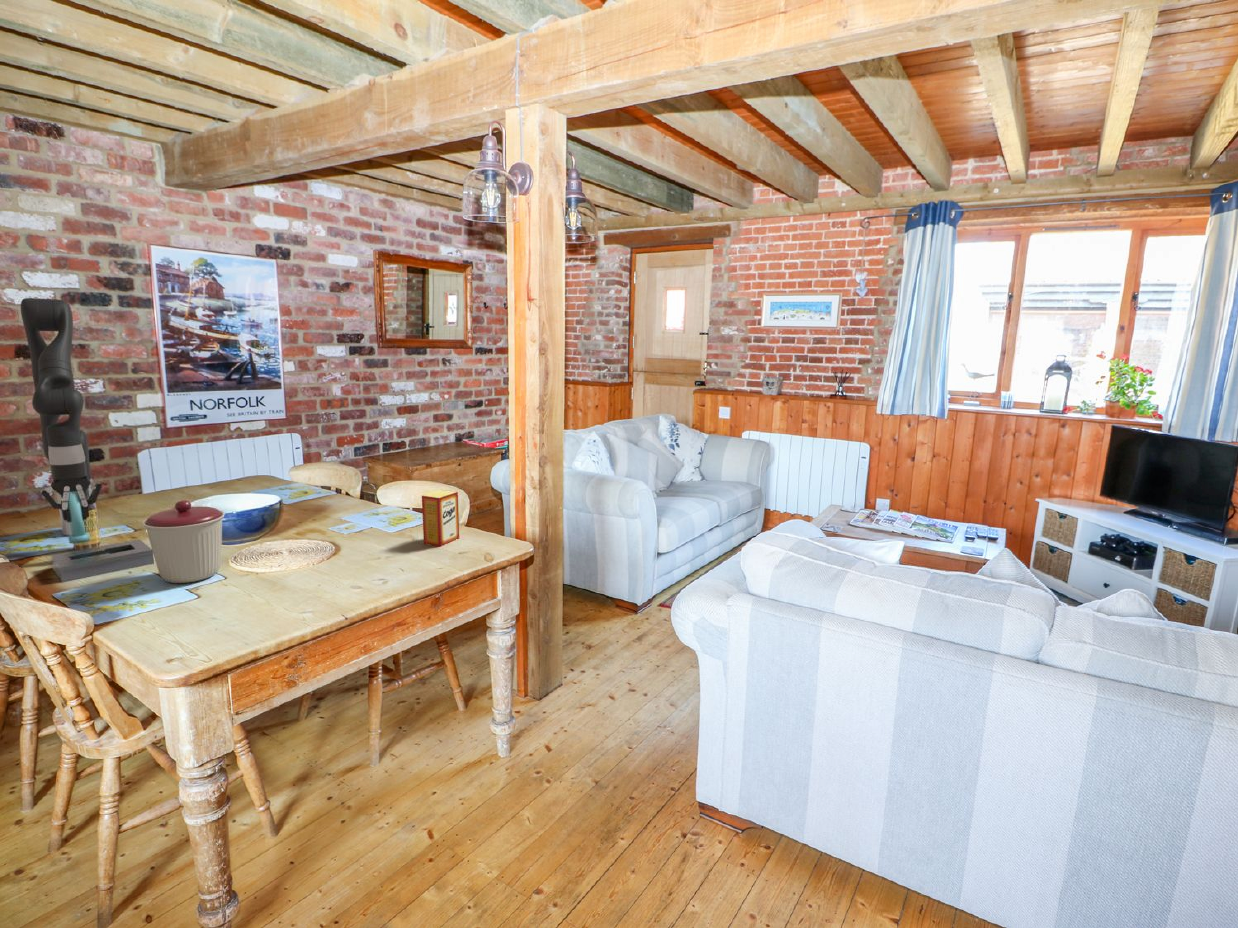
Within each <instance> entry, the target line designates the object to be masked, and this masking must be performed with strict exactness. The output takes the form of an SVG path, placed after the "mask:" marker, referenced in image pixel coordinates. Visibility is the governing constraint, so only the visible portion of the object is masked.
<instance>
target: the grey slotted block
mask: <svg viewBox="0 0 1238 928" xmlns="http://www.w3.org/2000/svg"><path fill="white" fill-rule="evenodd" d="M50 557H51V558H50V559H51V565H52V570H53V571H54V572H55V574H56V575H57V576H58V578H59V580H60V581H61V582H62V583H67V582H70V581H76V580H80V579H86V578H90V577H95V576H100V575H104V574H108V573H113V572H114V573H115V572H119V571H123V570H128V569H133V568H137V567H143V566H148V565H154V564H155V558H154V555H153V551H152V547H151V546H150V547H149V546H148V545H147V544H146V543H145V542H144V541H142V540H141V539H139V538H138V539H133V540H127V541H122V542H116V543H112V544H111V543H110V544H105V545H99V547H93V548H88V549H82V550H73V551H71V550H70V551H67V552H60V553H56V554H55V553H54V554H51V555H50Z"/></svg>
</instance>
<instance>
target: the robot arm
mask: <svg viewBox="0 0 1238 928" xmlns="http://www.w3.org/2000/svg"><path fill="white" fill-rule="evenodd" d="M72 312H73V310H72V308H71V306H70V303H69V302H67V301H66V300H63V299H57V298H56V299H54V298H37V297H36V298H35V297H34V298H33V297H25V298H23V299H22V300H21V303H20V314H21V320H22V324H23V329H24V332H25V333H24V334H25V336H26V341H27V345H28V348H29V350H28V351H29V355H30V361H31V363H30V365H31V370H32V378H33V379H32V380H33V387H34V393H33V396H32V400H31V402H32V403H31V404H32V407H33V410H34V411H35V412H36V413H37V414H39V418H40V430H41V441H42V449H43V453H44V455H45V458H46V459H47V460H48V461H49V466H50V474H51V479H52V482H51V483H50V486H49V487H46V488H41V489H40V490H39V492H40V494H41V496H43V497H44V499H45V500H46V501H47V502H48V503H49V505H50V506H51V507H52V508H53V509H55V510H58V511H59V512H58V513H59V517H60V524H61V531H62V535H64V536H69V535H71V534H72V532H71V526H70V522H71V520H70V513H69V509H68V501H69V492H73V491H77V492H78V495H79V498H80V500H81V506H82V513H83V520H86V519H87V517H89V510H88V506H89V505H90V504H93V505H94V507H95V509H96V512H97V513H98V510H97V504H96V502H97V499H98V497H99V495H100V492H101V489H102V488H103V485H102V484H101V482H99V481H97V482H95V481H93V477H92V471H91V470H92V469H91V463H90V452H89V442H88V436H87V433H86V432H85V431H84V430H82V429H80V421H81V416H82V413H83V408H84V404H85V403H84V402H85V400H84V399H85V398H84V396H83V394H82V393H81V392H80V391H79V390H78V389H76V388H75V380H74V373H73V369H72V359H71V358H72V346H73V333H74V332H73V331H74V330H73V329H74V318H73V313H72ZM41 332H57V335H56V336H55V338H54V339H53V340H52V341H51V342H50V343H49V344H47V343H46V341H45V339H44V338H43V336H42V334H41ZM63 415H68V418H67V419H66V420H64V421H60V422H58V421H59V419H60V417H61V416H63ZM88 487H89V496H90V497H89V499H88V500H86V497H85V495H84V492H85V491H86V489H87V488H88ZM53 491H55V492H56V498H57V502H56V501H55V499H54V498H53V497H52V496H53ZM97 521H98V530H100V524H99V517H98V515H97Z"/></svg>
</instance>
